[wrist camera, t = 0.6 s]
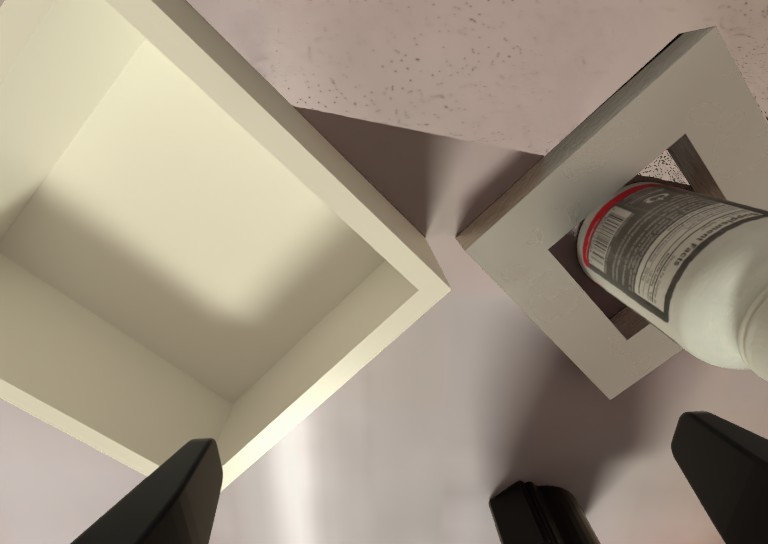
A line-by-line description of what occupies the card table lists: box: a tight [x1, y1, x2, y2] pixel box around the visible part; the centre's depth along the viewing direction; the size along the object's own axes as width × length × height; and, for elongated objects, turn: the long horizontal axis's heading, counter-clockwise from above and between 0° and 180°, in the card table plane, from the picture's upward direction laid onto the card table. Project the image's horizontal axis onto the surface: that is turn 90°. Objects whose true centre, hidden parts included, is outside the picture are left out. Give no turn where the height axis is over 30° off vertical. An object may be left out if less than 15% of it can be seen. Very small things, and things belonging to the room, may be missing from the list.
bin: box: [0, 0, 452, 492], centre depth 16 cm, size 14×14×6 cm
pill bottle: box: [577, 182, 768, 381], centre depth 15 cm, size 5×5×10 cm
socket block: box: [456, 26, 768, 400], centre depth 19 cm, size 12×12×2 cm
